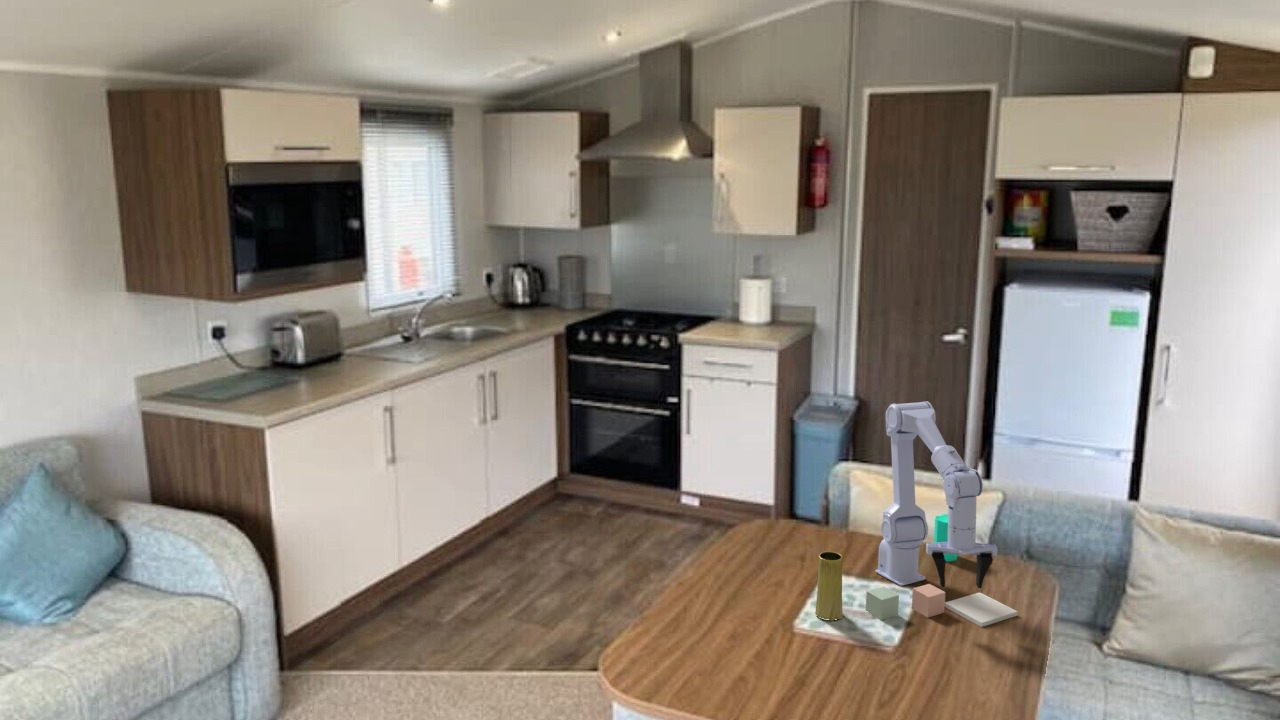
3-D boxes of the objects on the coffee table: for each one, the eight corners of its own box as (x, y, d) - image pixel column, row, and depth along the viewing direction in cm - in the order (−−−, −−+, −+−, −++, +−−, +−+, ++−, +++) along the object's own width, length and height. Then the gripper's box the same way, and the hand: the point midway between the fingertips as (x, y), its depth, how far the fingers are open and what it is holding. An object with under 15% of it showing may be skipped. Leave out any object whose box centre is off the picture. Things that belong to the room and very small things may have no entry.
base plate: (944, 606, 219) (944, 602, 219) (979, 596, 224) (979, 592, 224) (981, 627, 210) (981, 622, 210) (1017, 615, 215) (1017, 611, 215)
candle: (954, 552, 249) (957, 508, 247) (959, 561, 243) (962, 517, 241) (930, 551, 250) (933, 508, 247) (935, 561, 244) (937, 516, 241)
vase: (811, 618, 215) (813, 558, 212) (819, 606, 220) (821, 548, 217) (838, 623, 212) (840, 563, 209) (846, 612, 218) (848, 553, 215)
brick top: (911, 608, 219) (912, 588, 218) (928, 603, 221) (929, 583, 220) (927, 617, 215) (928, 597, 214) (944, 612, 217) (945, 592, 216)
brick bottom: (865, 611, 218) (866, 591, 217) (882, 606, 220) (883, 586, 219) (880, 620, 214) (881, 599, 213) (897, 615, 216) (898, 595, 215)
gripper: (930, 531, 204) (929, 592, 206) (1001, 532, 202) (999, 593, 204) (924, 520, 211) (924, 579, 213) (993, 521, 209) (992, 581, 211)
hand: (960, 586), depth 209 cm, fingers open, 7 cm apart
